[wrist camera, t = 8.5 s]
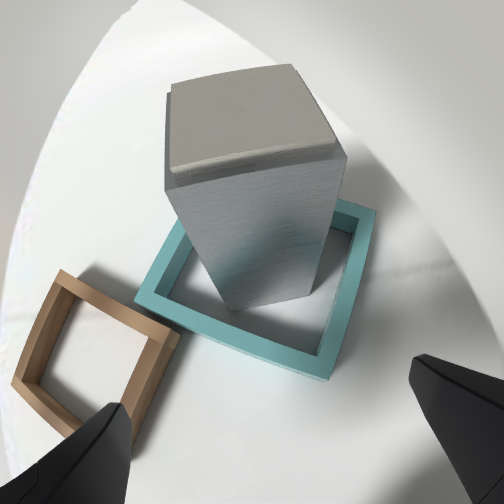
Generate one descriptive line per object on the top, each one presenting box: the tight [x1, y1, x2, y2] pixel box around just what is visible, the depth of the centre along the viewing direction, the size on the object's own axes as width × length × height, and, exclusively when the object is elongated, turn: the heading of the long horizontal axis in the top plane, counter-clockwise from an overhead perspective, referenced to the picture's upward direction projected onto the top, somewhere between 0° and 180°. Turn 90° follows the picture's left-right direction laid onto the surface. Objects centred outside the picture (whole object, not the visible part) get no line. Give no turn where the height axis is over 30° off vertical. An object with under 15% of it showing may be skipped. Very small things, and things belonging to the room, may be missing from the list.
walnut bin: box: [11, 269, 181, 448], centre depth 16 cm, size 10×10×2 cm
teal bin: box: [134, 198, 376, 381], centre depth 19 cm, size 12×11×2 cm
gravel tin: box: [165, 64, 347, 312], centre depth 14 cm, size 5×5×12 cm
